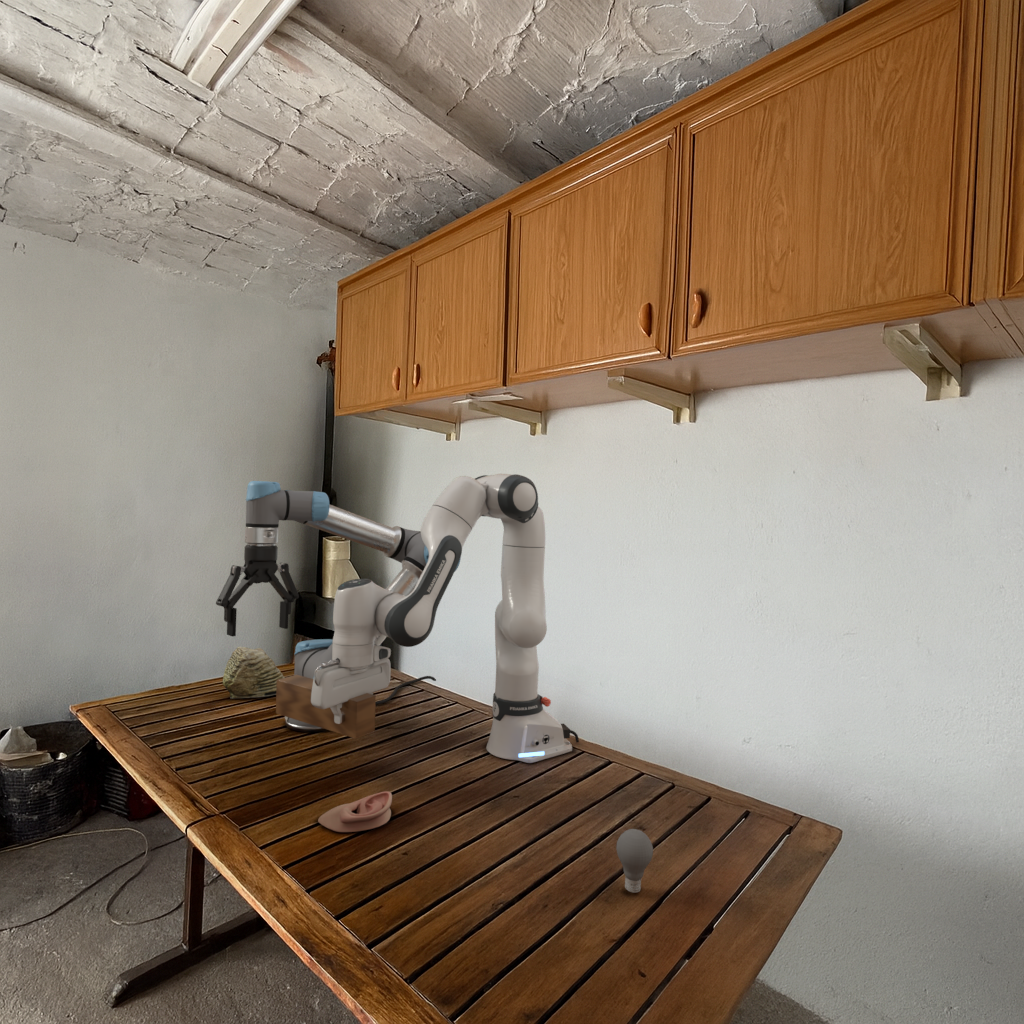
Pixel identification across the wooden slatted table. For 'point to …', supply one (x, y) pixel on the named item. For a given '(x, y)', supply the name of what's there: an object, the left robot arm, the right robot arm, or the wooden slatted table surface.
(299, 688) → the bar
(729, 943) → the wooden slatted table surface
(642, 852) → the light bulb
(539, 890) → the wooden slatted table surface
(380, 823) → the anatomical model
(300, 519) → the left robot arm
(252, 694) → the fossil
